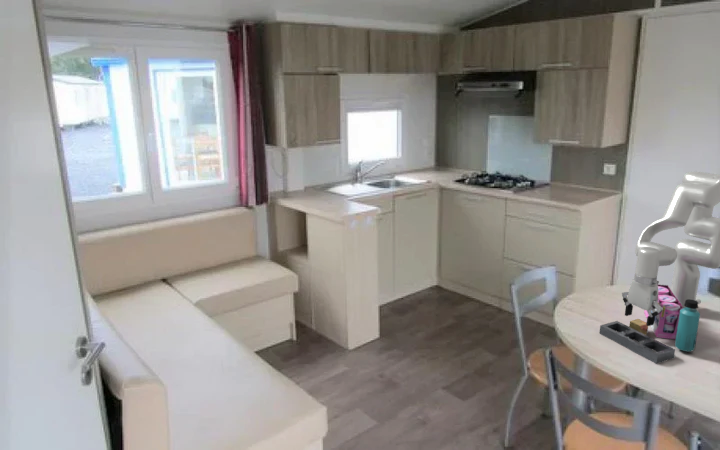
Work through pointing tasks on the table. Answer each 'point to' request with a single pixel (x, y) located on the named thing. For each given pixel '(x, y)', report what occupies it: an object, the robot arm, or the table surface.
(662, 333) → the gum box
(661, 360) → the frame with square openings
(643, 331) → the tan wooden cube
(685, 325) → the beverage bottle
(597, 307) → the table surface
